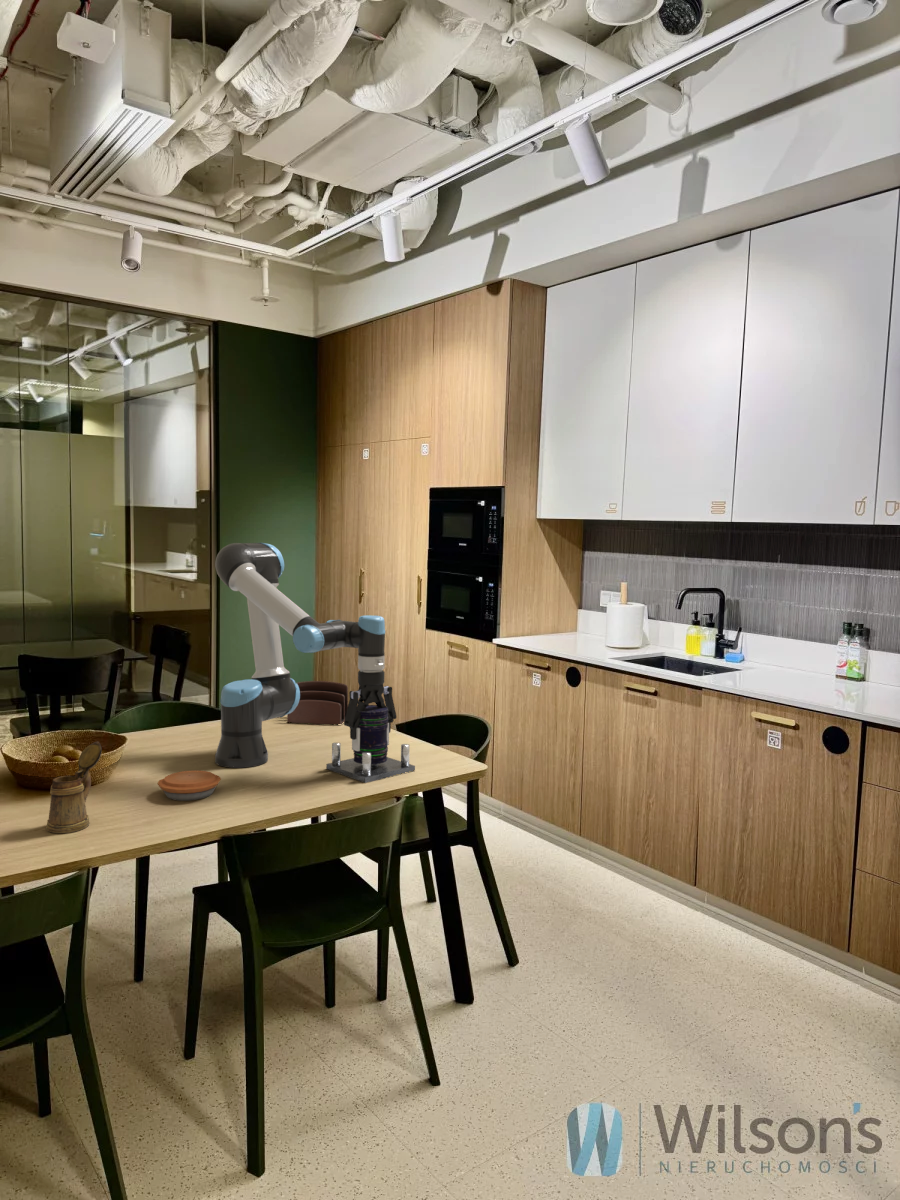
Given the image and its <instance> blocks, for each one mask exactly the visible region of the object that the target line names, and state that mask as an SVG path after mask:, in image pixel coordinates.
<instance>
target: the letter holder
mask: <svg viewBox="0 0 900 1200" xmlns="http://www.w3.org/2000/svg"><path fill="white" fill-rule="evenodd" d="M296 683H297V684H298V686H299V690H300V700H299V703H298V706H297V707H296V708H295V710H294V711H293V712H291V713H290V714H287V715H286V717H287V719H286V720H287V722H292V723H291V724H299V723H313V724H312V725H320V724H342V723H343V722H344V721H345V717H346V713H347V708H348V704H349V695H348V694H349V690H348V689H349V688H348V687H349V686H348V685H347V684H346V683H342V682H335V681H326V680H324V681H323V680H309V681H307V680H306V681H298V682H296ZM343 724H344V723H343ZM343 724H342V725H343Z"/></svg>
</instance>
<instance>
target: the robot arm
mask: <svg viewBox="0 0 900 1200" xmlns="http://www.w3.org/2000/svg"><path fill="white" fill-rule="evenodd" d="M214 563H215V564H214V565H215V570H216V574H217V575H218V577H219V579H220V580H221V581H222V582H223V584H224V585H225V586H227V587H228V588H229V589H231V590H232V591H233V592H240V594H241V595H243V596H244V597H246V602H247V610H248V616H249V618H248V619H249V626H250V627H249V628H250V634H251V635H250V636H251V641H252V650H253V657H254V658H253V659H254V666H255V672H254V673H253V675H252V676H251V679H249V678H247V679H242V680H233V681H232V682H229V683H227V684H225V685H224V686H223V687H222V689H221V692H220V693H221V694H220V730H221V733H220V739H219V742H218V745H217V749H216V751H215V755H214V759H215V761H214V762H215V764H216V765H217V766H220V767H224V768H236V769H237V768H250V767H256V766H260V765H263V764H266V763H267V762H268V760H269V752H268V749H267V746H266V743H265V740H264V737H263V728H262V727H263V722H265V721H269V720H273V719H276V718H282V717H285V716H287V714H290V713H291V712H293V711H294V710H295V708H296V707H297V706H298V703H299V700H300V690H299V686H298V684H297V682H296V680H294V679H293V678H291V673H290V670H288V669H286V667H285V665H284V657H283V656H284V655H283V649H282V640H281V639H282V638H281V633H280V627H281V628H282V629H283V630H285V631H286V632H287V633H288V634H289V635H290V636H292V641H293V644H294V646H295V649H296V650H297V651H298V652H301V653H305V654H307V653H310V654H314V653H317V652H321V651H327V650H333V649H340V648H354V649H357V651H358V652H357V654H358V655H357V669H358V670H359V671H358V672H357V683H358V688H357V690H350V691H348V694H349V695H348V697H349V699H348V708H347V713H346V717H345V721H344V723H343V725H344V726H345V727H349V738H350V740H351V750H352V751H353V750H355V751H360V728H358V725H359V723H360V720H361V712H357V711H362V712H363V711H365V709H366V707H367V706H368V705H371V704H373V703H375V705H377V707H380V708H386V707H387V708H388V712H387V713H388V728H387V741H388V745H387V746H389V745H390V733H391V732H392V731H391V730H392V729H391V728H392V727H391V726H392V725H391V724H392V723H393V722H394V720H396V719H397V713H396V707H395V703H394V699H393V687H392V686H388V685H387V686H386V685H384V684H385V675H386V674H385V671H384V669H385V668H386V667H385V664H386V663H385V660H386V659H385V655H386V654H385V653H386V652H385V643H386V642H385V641H386V640H385V639H386V628H385V627H386V624H385V623H386V622H385V618H384V617H383V616H381V615H361V616H359V617H358V621H349V620H341V619H329V620H327V621H326V622H323V623H319V622H318V621H317V620H315V619H314V618H313V617H312V616H310V615H309V613H307V612H306V611H304V609H302V608H301V607H299V605H297V604H296V603H295V602H293V601H292V600H291V599H290V598H289V597H288V596H286V595H285V594H284V593H283V592H281V591H280V590H279V589H278V586H279V585H280V583H279V578H280V577H281V576H282V575H283V572H284V571H285V570H284V569H285V561H284V557H283V555H282V552H281V551H280V550H279V549H278V548H277V547H276V546H275V545H273V544H270V543H265V542H243V543H242V542H233V543H228V544H227V545H225V546H223V547H222V548H221V549H220V550H219V552H218V553H217V555H216V558H215V562H214ZM382 695H383V696H382ZM356 710H357V711H356Z"/></svg>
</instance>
